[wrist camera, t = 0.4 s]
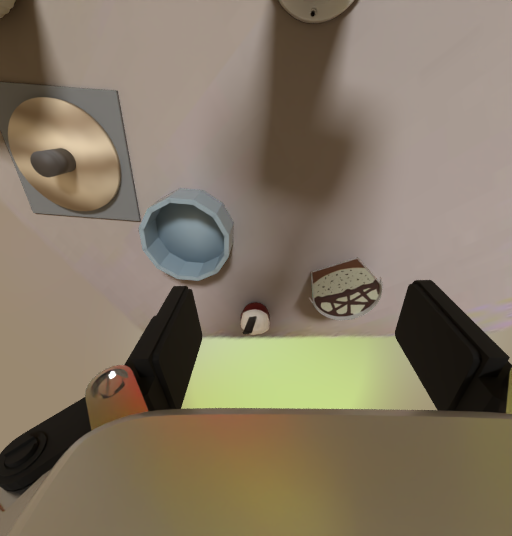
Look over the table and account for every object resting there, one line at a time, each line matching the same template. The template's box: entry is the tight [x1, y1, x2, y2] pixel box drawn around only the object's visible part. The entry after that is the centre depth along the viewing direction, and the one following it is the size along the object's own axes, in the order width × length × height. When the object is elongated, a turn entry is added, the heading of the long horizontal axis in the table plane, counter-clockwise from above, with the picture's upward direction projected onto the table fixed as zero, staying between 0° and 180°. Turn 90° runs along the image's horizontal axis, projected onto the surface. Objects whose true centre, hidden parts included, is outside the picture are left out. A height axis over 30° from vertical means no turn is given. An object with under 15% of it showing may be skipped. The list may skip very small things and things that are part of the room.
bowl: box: [139, 188, 234, 281], centre depth 45 cm, size 15×15×6 cm
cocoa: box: [241, 302, 270, 335], centre depth 52 cm, size 10×6×12 cm, turn 170°
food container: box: [309, 257, 383, 320], centre depth 47 cm, size 12×6×10 cm, turn 112°
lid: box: [8, 97, 121, 211], centre depth 40 cm, size 17×17×6 cm
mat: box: [0, 82, 140, 221], centre depth 42 cm, size 20×20×1 cm
